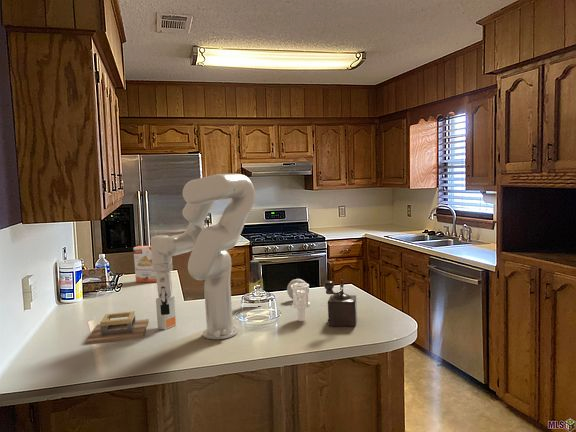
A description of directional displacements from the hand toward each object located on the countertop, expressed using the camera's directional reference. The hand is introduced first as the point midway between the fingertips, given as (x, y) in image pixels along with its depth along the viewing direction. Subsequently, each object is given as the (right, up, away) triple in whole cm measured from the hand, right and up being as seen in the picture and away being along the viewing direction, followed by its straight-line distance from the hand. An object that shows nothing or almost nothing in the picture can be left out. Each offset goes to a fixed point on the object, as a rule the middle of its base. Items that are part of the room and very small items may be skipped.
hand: (166, 311), depth 184 cm
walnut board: (-17, -7, -3) cm, 19 cm away
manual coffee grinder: (+68, -4, -8) cm, 69 cm away
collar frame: (-17, -6, -3) cm, 19 cm away
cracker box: (-33, -1, +90) cm, 96 cm away
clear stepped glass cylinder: (+53, -4, 0) cm, 53 cm away
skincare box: (0, -6, +1) cm, 6 cm away
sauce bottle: (+34, -3, +26) cm, 43 cm away
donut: (+53, -1, +30) cm, 60 cm away
